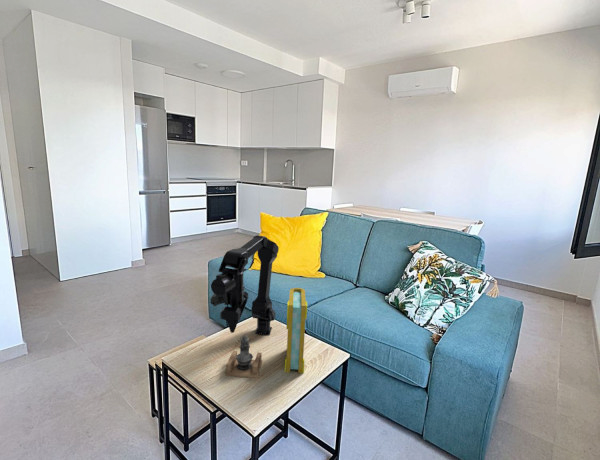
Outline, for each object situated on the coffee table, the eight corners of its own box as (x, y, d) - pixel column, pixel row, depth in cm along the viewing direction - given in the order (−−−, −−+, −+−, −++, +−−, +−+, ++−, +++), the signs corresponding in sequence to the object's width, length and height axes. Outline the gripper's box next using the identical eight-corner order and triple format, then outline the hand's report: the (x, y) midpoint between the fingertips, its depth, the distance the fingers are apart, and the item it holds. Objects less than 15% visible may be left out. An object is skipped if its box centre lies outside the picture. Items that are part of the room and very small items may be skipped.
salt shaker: (232, 368, 114) (232, 336, 111) (241, 359, 119) (241, 329, 117) (247, 372, 112) (248, 340, 110) (255, 363, 117) (256, 332, 115)
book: (303, 373, 115) (307, 306, 110) (284, 372, 115) (287, 305, 110) (303, 347, 131) (306, 288, 127) (286, 346, 131) (288, 287, 127)
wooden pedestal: (232, 360, 120) (232, 350, 120) (262, 362, 120) (262, 352, 119) (225, 375, 111) (225, 364, 111) (257, 377, 111) (257, 367, 110)
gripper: (219, 276, 126) (220, 313, 129) (204, 294, 108) (205, 338, 111) (248, 277, 126) (248, 315, 129) (238, 296, 108) (238, 340, 111)
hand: (235, 326), depth 120 cm, fingers open, 9 cm apart
